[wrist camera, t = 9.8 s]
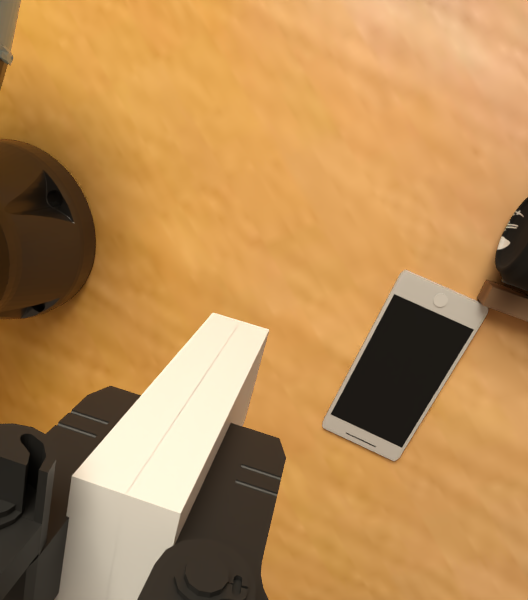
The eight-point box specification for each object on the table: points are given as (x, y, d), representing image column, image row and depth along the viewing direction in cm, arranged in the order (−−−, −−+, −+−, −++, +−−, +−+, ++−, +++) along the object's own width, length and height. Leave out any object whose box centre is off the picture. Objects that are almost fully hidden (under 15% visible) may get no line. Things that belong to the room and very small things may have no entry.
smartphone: (488, 304, 38) (491, 308, 37) (395, 457, 43) (396, 463, 42) (402, 266, 38) (403, 269, 38) (321, 421, 44) (320, 427, 43)
